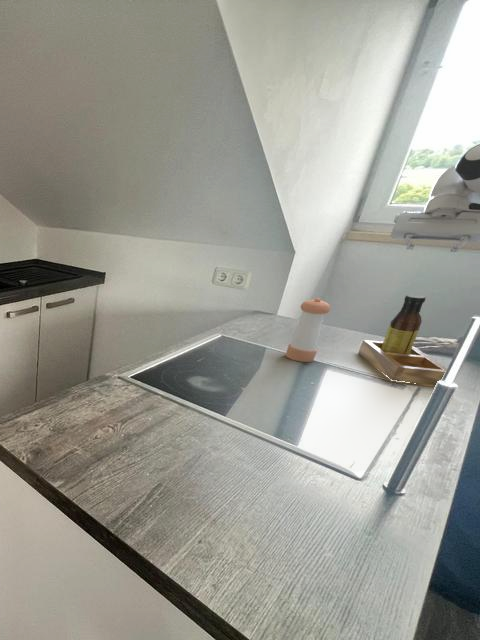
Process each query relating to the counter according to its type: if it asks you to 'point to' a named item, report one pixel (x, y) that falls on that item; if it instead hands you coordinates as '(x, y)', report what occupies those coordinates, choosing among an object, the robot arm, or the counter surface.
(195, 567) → the counter surface
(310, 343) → the pepper shaker
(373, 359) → the wooden compartment tray
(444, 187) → the robot arm
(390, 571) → the counter surface
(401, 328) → the sauce bottle
